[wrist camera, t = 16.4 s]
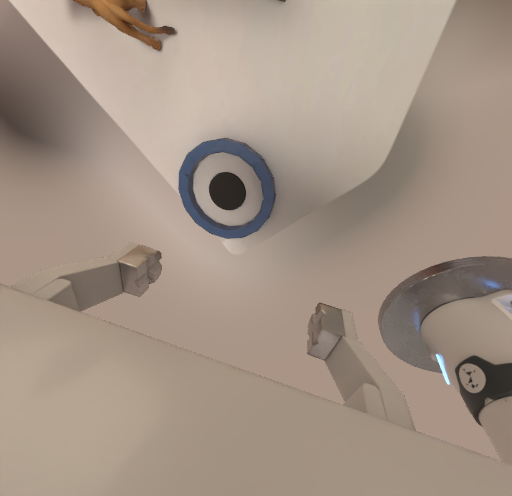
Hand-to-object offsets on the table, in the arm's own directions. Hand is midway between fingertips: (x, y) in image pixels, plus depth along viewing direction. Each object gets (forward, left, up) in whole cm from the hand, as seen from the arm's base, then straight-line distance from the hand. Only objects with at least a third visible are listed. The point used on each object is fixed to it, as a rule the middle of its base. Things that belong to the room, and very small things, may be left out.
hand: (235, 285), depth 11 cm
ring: (+8, +5, -25) cm, 27 cm away
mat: (+8, +5, -25) cm, 27 cm away
